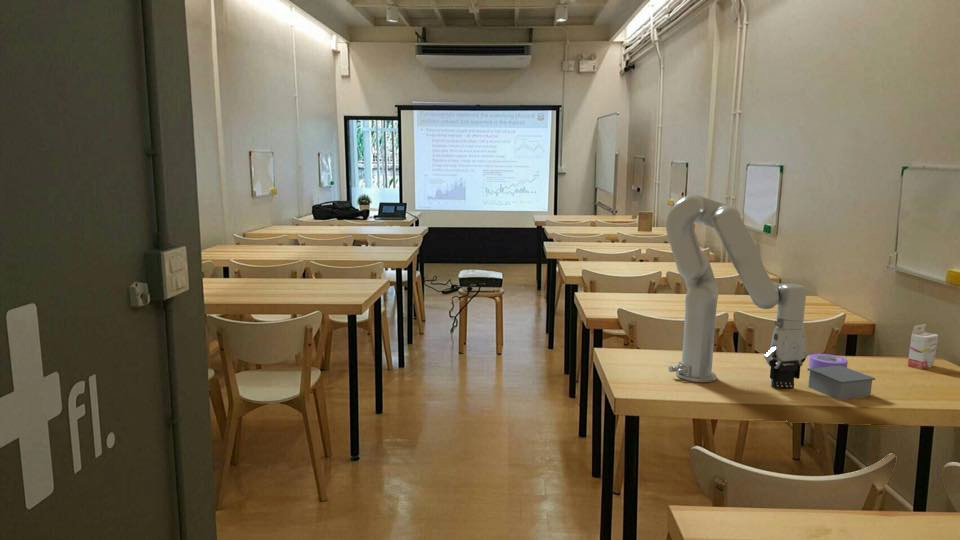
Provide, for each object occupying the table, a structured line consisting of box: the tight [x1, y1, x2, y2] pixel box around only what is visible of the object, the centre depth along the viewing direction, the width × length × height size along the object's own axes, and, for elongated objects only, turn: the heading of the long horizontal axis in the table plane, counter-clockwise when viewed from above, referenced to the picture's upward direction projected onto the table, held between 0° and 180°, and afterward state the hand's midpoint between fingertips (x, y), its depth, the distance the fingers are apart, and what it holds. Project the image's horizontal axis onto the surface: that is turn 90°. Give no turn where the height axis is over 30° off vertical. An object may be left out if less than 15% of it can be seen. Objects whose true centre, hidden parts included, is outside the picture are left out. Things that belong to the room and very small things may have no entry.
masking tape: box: [808, 353, 848, 368], centre depth 224 cm, size 12×12×4 cm
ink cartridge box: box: [907, 323, 939, 370], centre depth 227 cm, size 9×5×15 cm, turn 120°
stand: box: [807, 365, 876, 401], centre depth 200 cm, size 13×13×6 cm
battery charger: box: [770, 356, 798, 390], centre depth 201 cm, size 7×4×11 cm, turn 88°
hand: (784, 378), depth 202 cm, fingers closed on battery charger, 7 cm apart
